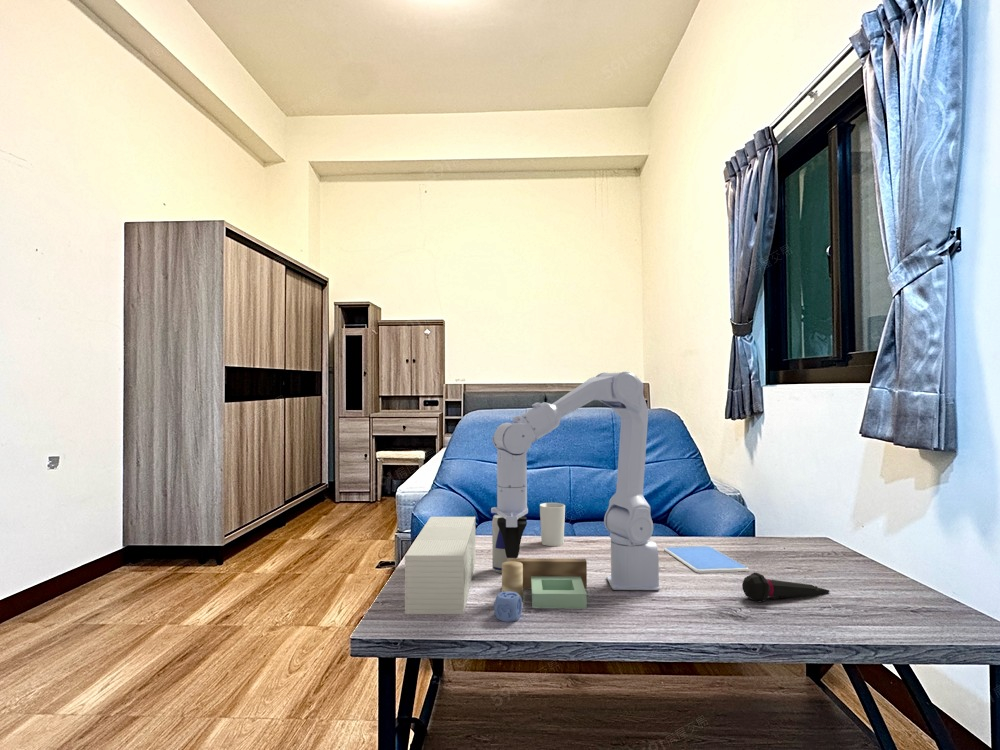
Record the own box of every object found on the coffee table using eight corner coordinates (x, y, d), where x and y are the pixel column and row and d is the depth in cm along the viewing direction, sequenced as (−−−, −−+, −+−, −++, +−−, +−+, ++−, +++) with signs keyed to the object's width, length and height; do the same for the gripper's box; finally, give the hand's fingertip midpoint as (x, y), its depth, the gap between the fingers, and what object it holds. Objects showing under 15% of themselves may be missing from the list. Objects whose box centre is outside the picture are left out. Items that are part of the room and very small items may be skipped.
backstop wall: (585, 585, 119) (585, 558, 120) (586, 589, 117) (586, 561, 118) (508, 585, 120) (507, 558, 120) (507, 588, 118) (507, 561, 118)
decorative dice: (501, 612, 106) (501, 590, 106) (522, 614, 104) (522, 592, 104) (494, 620, 102) (493, 597, 102) (515, 623, 101) (515, 600, 101)
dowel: (522, 597, 113) (522, 561, 113) (522, 605, 109) (522, 567, 109) (502, 597, 113) (502, 561, 113) (501, 604, 109) (501, 567, 109)
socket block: (580, 591, 117) (580, 576, 117) (586, 610, 107) (586, 593, 107) (531, 591, 117) (531, 576, 118) (532, 610, 107) (532, 593, 108)
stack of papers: (463, 615, 105) (463, 555, 105) (404, 615, 105) (404, 555, 105) (475, 562, 137) (475, 516, 137) (430, 562, 137) (430, 516, 137)
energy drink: (514, 574, 127) (513, 519, 127) (490, 573, 128) (490, 518, 128) (518, 567, 132) (517, 514, 132) (495, 565, 133) (495, 513, 133)
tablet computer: (662, 551, 146) (662, 546, 146) (710, 550, 148) (710, 545, 148) (696, 576, 127) (696, 569, 127) (751, 574, 129) (751, 568, 129)
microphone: (820, 605, 116) (738, 601, 112) (816, 577, 118) (735, 572, 114) (840, 606, 111) (755, 602, 107) (836, 576, 113) (752, 571, 109)
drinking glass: (558, 539, 157) (558, 501, 157) (569, 545, 150) (569, 506, 151) (536, 541, 155) (535, 503, 155) (545, 547, 148) (545, 508, 149)
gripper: (492, 479, 119) (493, 546, 119) (489, 492, 104) (489, 568, 104) (527, 479, 119) (527, 546, 118) (528, 492, 104) (528, 568, 104)
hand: (512, 556), depth 111 cm, fingers closed
